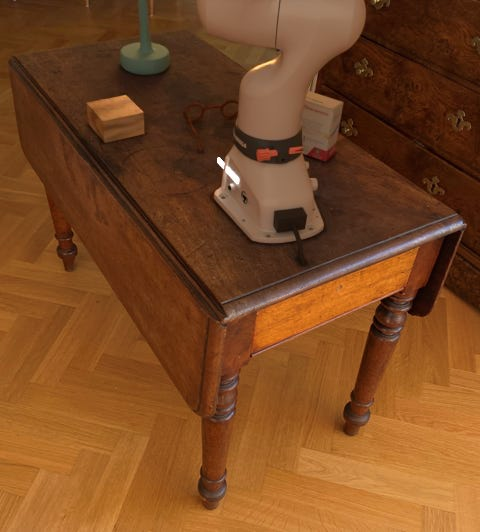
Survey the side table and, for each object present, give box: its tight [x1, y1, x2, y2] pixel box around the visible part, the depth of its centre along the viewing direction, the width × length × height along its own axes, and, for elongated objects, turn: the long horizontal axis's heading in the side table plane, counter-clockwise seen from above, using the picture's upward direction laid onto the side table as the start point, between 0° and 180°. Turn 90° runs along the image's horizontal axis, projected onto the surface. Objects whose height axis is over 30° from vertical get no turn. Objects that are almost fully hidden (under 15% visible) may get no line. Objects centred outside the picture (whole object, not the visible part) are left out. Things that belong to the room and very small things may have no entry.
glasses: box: [182, 99, 239, 153], centre depth 129 cm, size 13×13×5 cm
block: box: [85, 94, 145, 144], centre depth 128 cm, size 9×9×5 cm
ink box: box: [301, 90, 344, 162], centre depth 124 cm, size 9×5×12 cm, turn 57°
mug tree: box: [119, 0, 171, 76], centre depth 147 cm, size 12×12×25 cm
